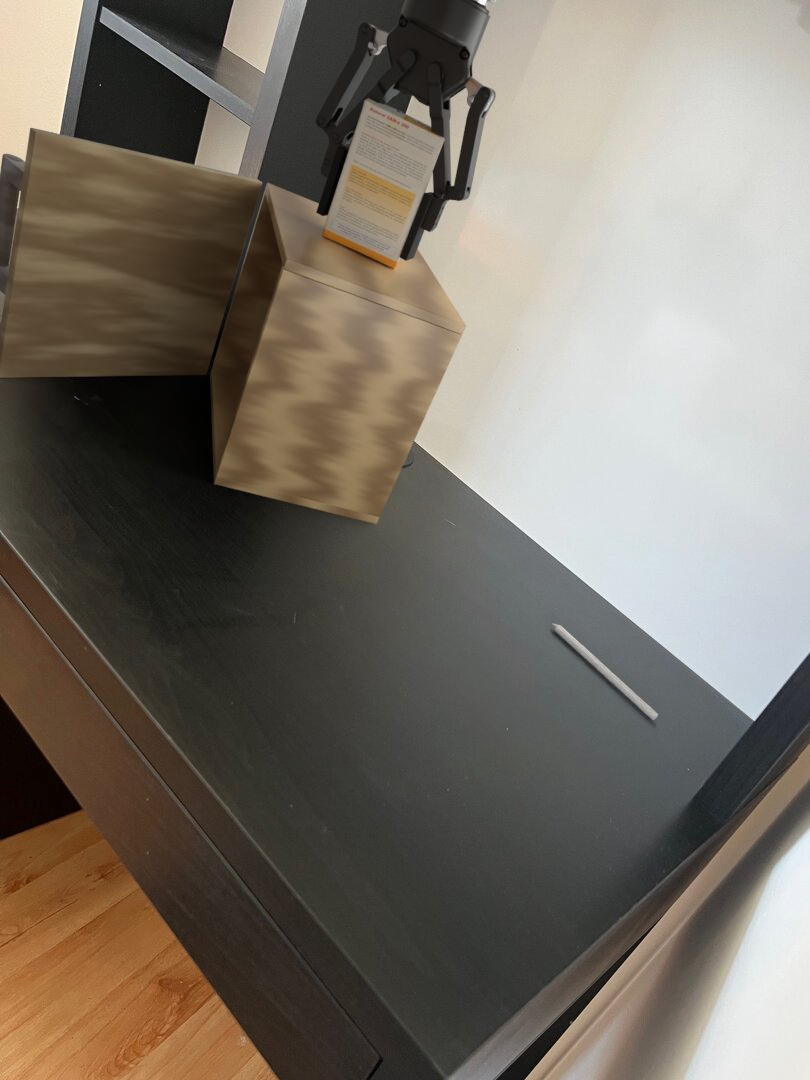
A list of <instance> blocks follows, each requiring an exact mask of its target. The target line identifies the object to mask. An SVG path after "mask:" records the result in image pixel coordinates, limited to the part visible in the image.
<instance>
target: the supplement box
mask: <svg viewBox="0 0 810 1080" xmlns="http://www.w3.org/2000/svg"><path fill="white" fill-rule="evenodd" d="M444 141H445V138H444V137H441V136H439V135H437V134H435V133H433V132H431V125H429V124H427V123H425V122H423V121H420V120H418V119H417V118H415V117H412V116H411V115H409V114H406V113H404V112H403V111H400V110H398V109H396V108H394V107H392V106H390V105H389V104H387V103H386V104H383V103H377V102H375V101H373V100H371V99H369V98H368V99H366V100H365V101H364V104H363V108H362V111H361V114H360V117H359V120H358V124H357V127H356V130H355V133H354V136H353V138H352V139H351V141H350V142H351V143H350V145H349V151H348V154H347V157H346V160H345V164H344V167H343V170H342V173H341V176H340V179H339V182H338V185H337V188H336V191H335V194H334V197H333V201H332V204H331V207H330V210H329V213H328V216H327V219H326V223H325V226H324V230H323V233H322V236H323V237H326V238H328V239H330V240H333V241H335V242H337V243H339V244H342V245H344V246H346V247H348V248H351V249H353V250H355V251H357V252H360V253H362V254H364V255H366V256H368V257H370V258H372V259H374V260H376V261H379V262H381V263H383V264H385V265H387V266H389V267H391V268H394V269H395V268H396V267H397V264H398V262H399V259H400V255H401V252H402V250H403V247H404V244H405V242H406V239H407V237H408V234H409V232H410V229H411V226H412V224H413V221H414V219H415V216H416V214H417V211H418V208H419V206H420V203H421V201H422V198H423V196H424V193H426V191H427V188H428V186H429V183H430V181H431V178H432V176H433V169H434V166H435V164H436V161H437V158H438V156H439V153H440V150H441V148H442V145H443V143H444Z"/></svg>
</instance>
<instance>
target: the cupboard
mask: <svg viewBox="0 0 810 1080" xmlns="http://www.w3.org/2000/svg"><path fill="white" fill-rule="evenodd" d="M318 205H319V202H316V201H314V200H311V199H309V198H306V197H304V196H303V195H302V196H301V195H299V194H297V193H294V192H292V191H289V190H288V189H284V188H282V187H279V186H277V185H275V184H272V183H271V182H266V185H265V188H264V191H263V195H262V199H261V202H260V205H259V207H258V208H259V209H258V212H257V215H256V218H255V221H254V225H253V228H252V233H251V236H250V238H249V243H248V245H247V248H246V252H245V256H244V259H243V263H242V266H241V269H240V273H239V276H238V279H237V283H236V286H235V290H234V292H233V296H232V300H231V302H230V307H229V310H228V313H227V316H226V320H225V323H224V326H223V329H222V333H221V337H220V340H219V343H218V347H217V350H216V353H215V357H214V361H213V363H212V367H211V371H210V373H209V384H210V385H209V388H210V390H209V391H210V413H211V416H210V417H211V440H212V442H211V443H212V466H213V467H212V468H213V471H212V472H213V484H214V485H217V486H221V487H225V488H229V489H233V490H238V491H242V492H245V493H248V494H249V493H250V494H252V495H253V494H254V495H257V496H261V497H266V498H269V499H273V500H277V501H282V502H284V503H285V502H287V503H290V504H293V505H297V506H302V507H306V508H309V509H313V510H318V511H321V512H326V513H329V514H330V513H331V514H334V515H338V516H342V517H346V518H349V519H353V520H358V521H363V522H366V523H370V524H375V525H377V524H378V522H379V519H380V517H381V516H382V512H383V511H384V508H385V506H386V504H387V502H388V499H389V497H390V496H391V495H390V494H391V493H392V491H393V488H394V486H395V484H396V482H397V480H398V478H399V475H400V473H401V470H402V468H403V466H404V465H405V462H406V460H407V458H408V456H409V453H410V451H411V448H412V446H413V445H414V442H415V440H416V438H417V435H418V433H419V432H420V429H421V427H422V425H423V422H424V420H425V418H426V415H427V414H428V411H429V409H430V407H431V404H432V403H433V400H434V398H435V396H436V393H437V391H438V389H439V387H440V385H441V382H442V380H443V378H444V376H445V373H446V372H447V370H448V368H449V365H450V362H451V361H452V358H453V356H454V354H455V351H456V350H457V348H458V346H459V343H460V341H461V339H462V337H463V334H464V332H465V329H466V327H467V324H466V323H465V322H464V320H463V318H462V316H461V315H460V313H459V312H458V310H457V308H456V307H455V306H454V304H453V302H452V300H451V299H450V297H449V296H448V294H447V293H446V291H445V289H444V288H443V287H442V285H441V284H440V282H439V280H438V278H437V277H436V276H435V274H434V272H433V271H432V269H431V267H430V266H429V264H428V262H427V261H426V260H425V258H424V256H423V255H422V253H421V252H420V250H419V249H418V248H419V247H418V248H417V251H416V253H415V256H414V258H413V259H410V260H407V261H405V260H404V259H402V258H400V259H399V262H398V264H397V267H396V268H395V269H394V268H391V267H389V266H387V265H385V264H383V263H381V262H379V261H376V260H374V259H372V258H370V257H368V256H366V255H364V254H362V253H360V252H357V251H355V250H353V249H351V248H348V247H346V246H344V245H342V244H339V243H337V242H335V241H333V240H330V239H328V238H326V237H323V236H322V233H323V230H324V226H325V223H326V219H327V216H328V215H327V216H322V215H320V214H318V213H316V212H317V208H318Z"/></svg>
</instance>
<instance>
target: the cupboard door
mask: <svg viewBox="0 0 810 1080" xmlns="http://www.w3.org/2000/svg"><path fill="white" fill-rule="evenodd" d="M26 146H27V148H26V153H25V160H23V159H22V158H21V157H19V156H17V155H14V154H12V153H11V154H10V153H2V157H1V163H0V165H1V166H0V292H1V293H2V294H3V295H4V300H3V305H2V306H3V307H2V315H1V319H0V320H1V322H0V379H1V378H3V379H4V378H6V379H7V378H11V379H12V378H68V377H70V378H71V377H72V378H73V377H75V378H80V377H83V378H84V377H144V376H145V377H151V376H152V377H153V376H155V377H156V376H157V377H158V376H159V377H160V376H206V375H207V374H208V371H209V367H210V363H211V360H212V356H213V353H214V350H215V346H216V344H217V341H218V337H219V332H220V329H221V326H222V322H223V320H224V316H225V314H226V313H225V312H226V310H227V305H228V302H229V299H230V295H231V292H232V288H233V285H234V282H235V278H236V275H237V271H238V268H239V265H240V261H241V259H242V255H243V251H244V248H245V245H246V240H247V238H248V234H249V231H250V227H251V224H252V221H253V218H254V214H255V210H256V207H257V203H258V201H259V200H258V199H259V197H260V194H261V190H262V186H263V182H262V181H261V180H259V179H258V178H254V177H250V176H245V175H241V174H237V173H233V172H228V171H223V170H219V169H214V168H211V167H207V166H202V165H197V164H194V163H188V162H184V161H180V160H175V159H171V158H168V157H163V156H158V155H155V154H149V153H144V152H140V151H137V150H133V149H132V150H131V149H127V148H123V147H119V146H114V145H109V144H106V143H100V142H96V141H93V140H89V139H84V138H79V137H74V136H70V135H67V134H62V133H57V132H52V131H49V130H43V129H39V128H35V127H30V128H29V133H28V140H27V145H26Z"/></svg>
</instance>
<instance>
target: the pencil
mask: <svg viewBox="0 0 810 1080" xmlns="http://www.w3.org/2000/svg"><path fill="white" fill-rule="evenodd" d="M552 626H553V629H554V631H555V632H556V633H557V634H558V635H559V636H560V637H561V638H562V639H563V640H564V641H565V642H567V643H568V644H569V645H570V646H571V647H572V648H573V649H574V650H575V651H577V653H579V655H581V656H582V657H583V658H584V659H585V660H586V661H587V662H588V663H590V665H592V666H593V667H594V668H595V669H596V670H597V671H598V672H599V673H601V675H602V676H604V677H605V678H606V680H608V681H609V682H610V683H611V684H612V685H614V686H615V687H616V688H617V689H618V690H619V691H620V692H621V693H622V694H624V695H625V696H626V698H628V700H630V701H631V702H632V703H634V705H635V706H637V708H638V709H640V710H641V711H642V712H643V713H644V714H645V715H646V716H647V717H649V719H651V720H652V721H655V720H656V719H657V718H658V716H659V713H658V712H656V710H655V709H654V708H653V707H652V706H650V704H648V703H646V702H645V701H644V700H643V699H642V698H641V697H640V696H639V695H638V694H637V693H636V692H634V691H633V690H632V689H631V688H630V686H628V685H627V684H626V683H624V682H623V681H622V680H621V679H620V678H619V677H618V676H617V675H616V674H615V673H613V671H612V670H611V669H609V668H608V667H607V666H606V665H605V664H603V662H602V661H601V660H600V659H598V658H597V657H596V656H595V655H594V654H593V653H592V652H590V651H589V649H587V648H586V647H585V646H584V645H583V644H582V643H580V641H578V639H576V638H575V637H574V636H573V635H572V634H571V633H570V632H568V631H567V630H566V629H565V628H564V627H563V626H562V625H561V624H556V623H553V622H552Z"/></svg>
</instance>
